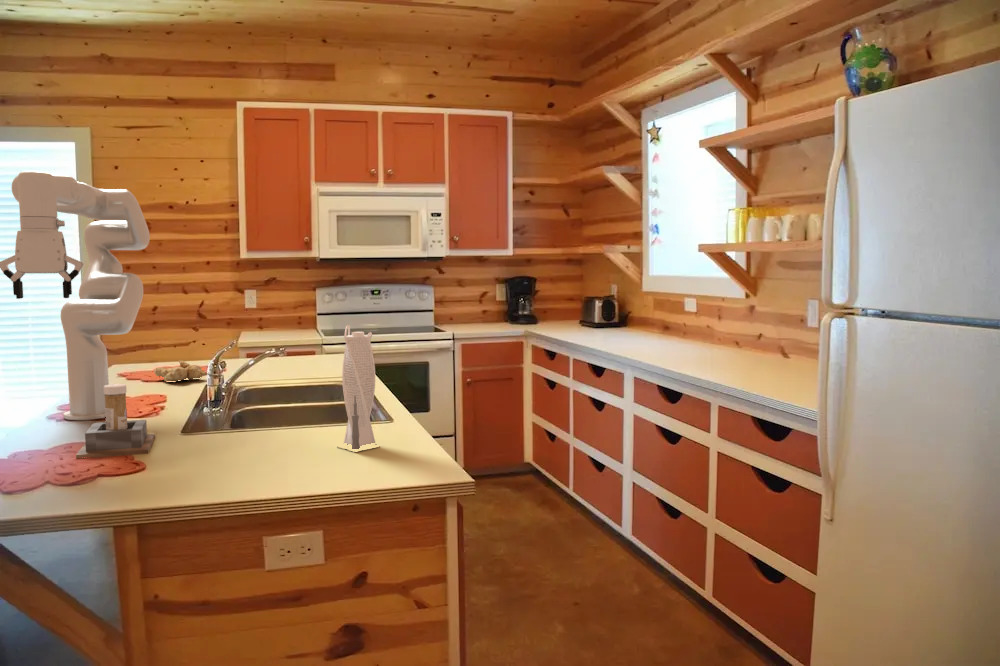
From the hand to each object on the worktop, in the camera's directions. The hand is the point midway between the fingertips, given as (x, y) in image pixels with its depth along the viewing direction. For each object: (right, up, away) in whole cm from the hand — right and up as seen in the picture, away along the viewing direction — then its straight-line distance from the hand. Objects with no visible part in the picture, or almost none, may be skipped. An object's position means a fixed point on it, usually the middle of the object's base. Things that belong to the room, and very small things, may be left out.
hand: (43, 298), depth 177 cm
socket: (+21, -35, -7) cm, 41 cm away
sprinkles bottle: (+21, -34, -7) cm, 40 cm away
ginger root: (-2, -25, +83) cm, 87 cm away
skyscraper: (+76, -35, -5) cm, 83 cm away
